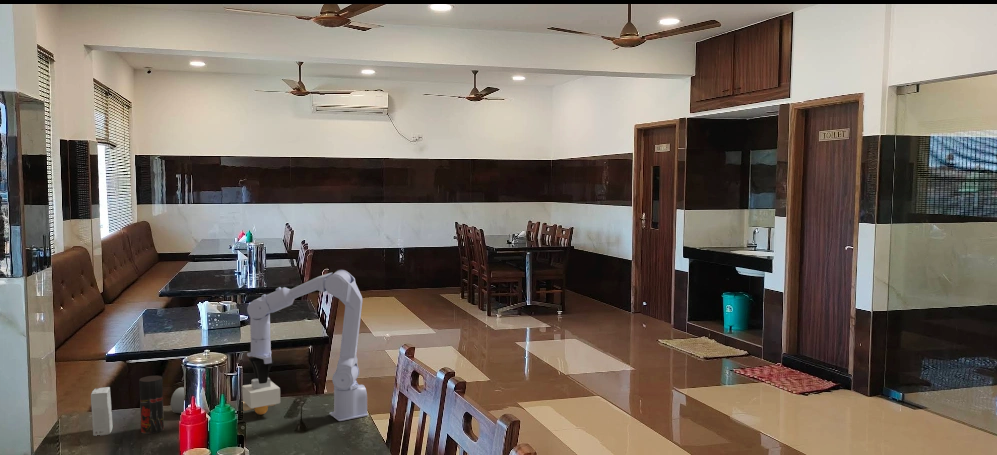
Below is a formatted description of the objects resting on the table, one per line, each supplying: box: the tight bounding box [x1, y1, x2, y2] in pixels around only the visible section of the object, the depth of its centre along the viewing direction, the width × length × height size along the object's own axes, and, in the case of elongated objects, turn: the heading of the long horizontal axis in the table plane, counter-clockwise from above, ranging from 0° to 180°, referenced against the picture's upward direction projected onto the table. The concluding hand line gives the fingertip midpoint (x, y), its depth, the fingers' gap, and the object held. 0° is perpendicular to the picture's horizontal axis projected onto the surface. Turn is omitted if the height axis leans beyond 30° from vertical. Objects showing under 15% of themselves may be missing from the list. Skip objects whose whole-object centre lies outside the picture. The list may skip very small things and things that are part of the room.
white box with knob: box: [241, 376, 281, 408], centre depth 224 cm, size 9×9×7 cm
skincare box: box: [90, 386, 114, 437], centre depth 209 cm, size 6×4×12 cm
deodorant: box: [138, 375, 165, 435], centre depth 211 cm, size 6×6×15 cm
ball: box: [253, 405, 269, 416], centre depth 225 cm, size 4×4×4 cm
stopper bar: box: [242, 401, 276, 412], centre depth 231 cm, size 12×2×2 cm, turn 124°
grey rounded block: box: [170, 386, 185, 414], centre depth 227 cm, size 11×8×8 cm
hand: (261, 381), depth 224 cm, fingers closed on white box with knob, 2 cm apart
